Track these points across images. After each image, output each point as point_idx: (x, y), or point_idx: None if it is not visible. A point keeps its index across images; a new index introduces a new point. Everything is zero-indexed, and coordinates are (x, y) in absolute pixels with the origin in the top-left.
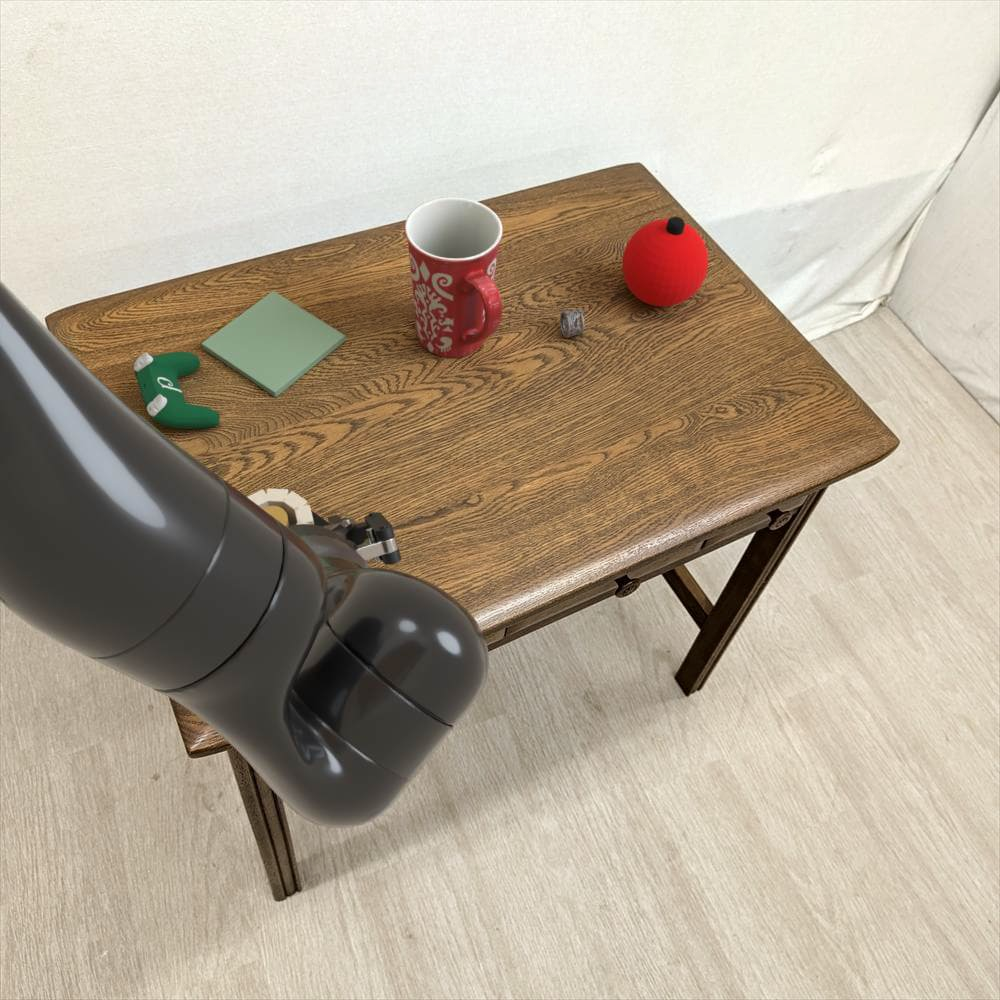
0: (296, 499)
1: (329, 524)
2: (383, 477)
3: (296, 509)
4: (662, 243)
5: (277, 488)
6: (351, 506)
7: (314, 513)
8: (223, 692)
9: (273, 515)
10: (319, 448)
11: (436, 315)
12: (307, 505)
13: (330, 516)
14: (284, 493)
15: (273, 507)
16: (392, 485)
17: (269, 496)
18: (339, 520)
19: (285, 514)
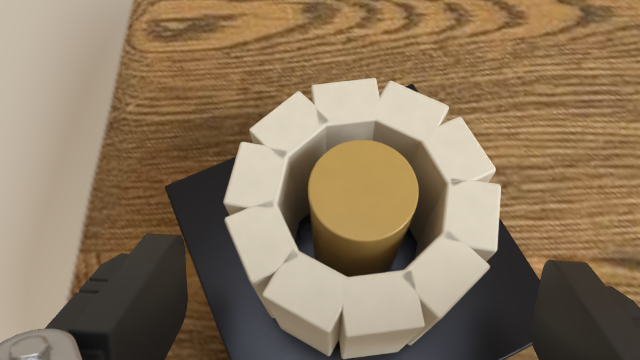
0: (465, 150)
1: (542, 280)
2: (618, 137)
3: (454, 185)
4: None
5: (409, 85)
6: (533, 173)
7: None
8: None
9: (374, 179)
10: (507, 34)
11: None
12: (493, 185)
13: (564, 262)
14: (434, 116)
15: (384, 151)
16: (633, 162)
17: (386, 108)
18: (634, 336)
19: (414, 192)
